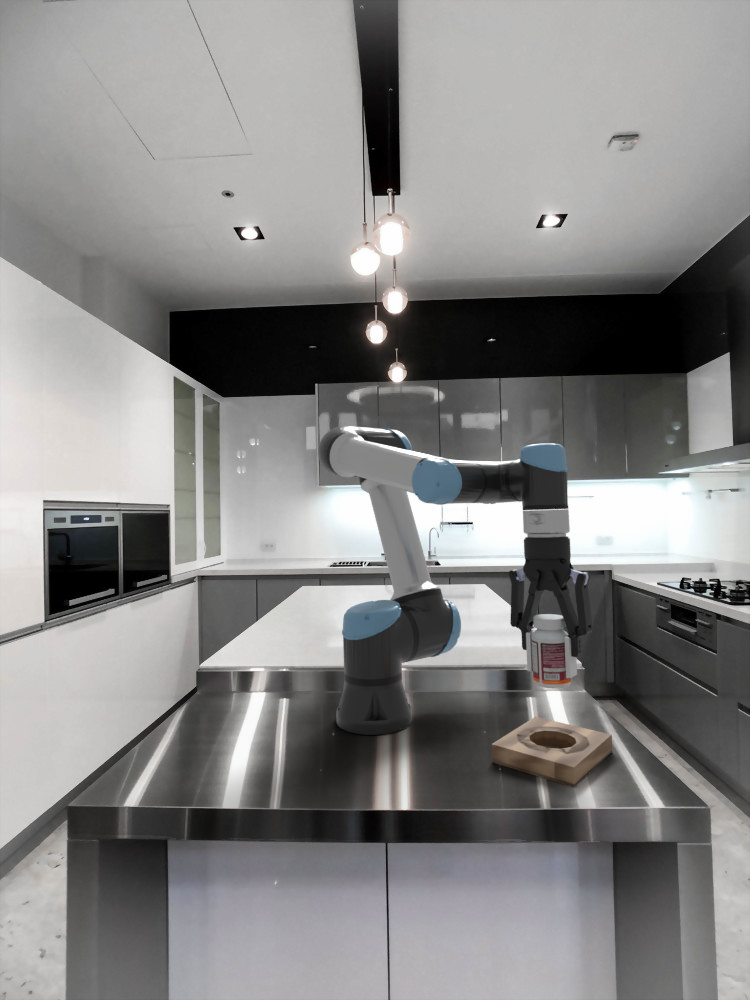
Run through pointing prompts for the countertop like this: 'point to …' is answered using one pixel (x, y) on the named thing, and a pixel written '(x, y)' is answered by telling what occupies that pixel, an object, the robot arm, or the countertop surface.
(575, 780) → the socket block
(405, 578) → the robot arm
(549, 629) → the pill bottle
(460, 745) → the countertop surface
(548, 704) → the countertop surface
